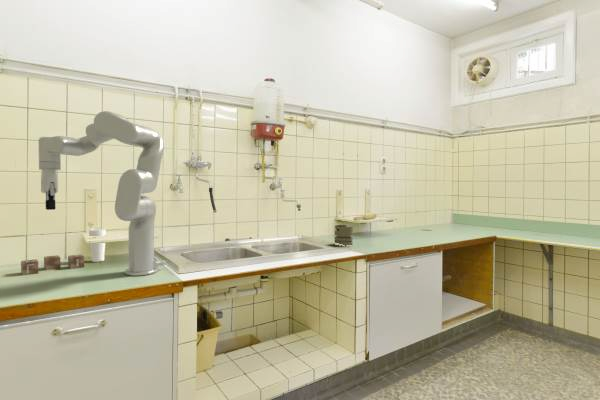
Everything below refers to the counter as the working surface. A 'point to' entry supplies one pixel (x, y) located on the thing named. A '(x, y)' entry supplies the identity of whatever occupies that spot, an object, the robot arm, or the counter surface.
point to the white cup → (97, 245)
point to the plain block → (51, 262)
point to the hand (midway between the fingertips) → (50, 209)
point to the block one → (76, 261)
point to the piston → (343, 234)
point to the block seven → (29, 267)
